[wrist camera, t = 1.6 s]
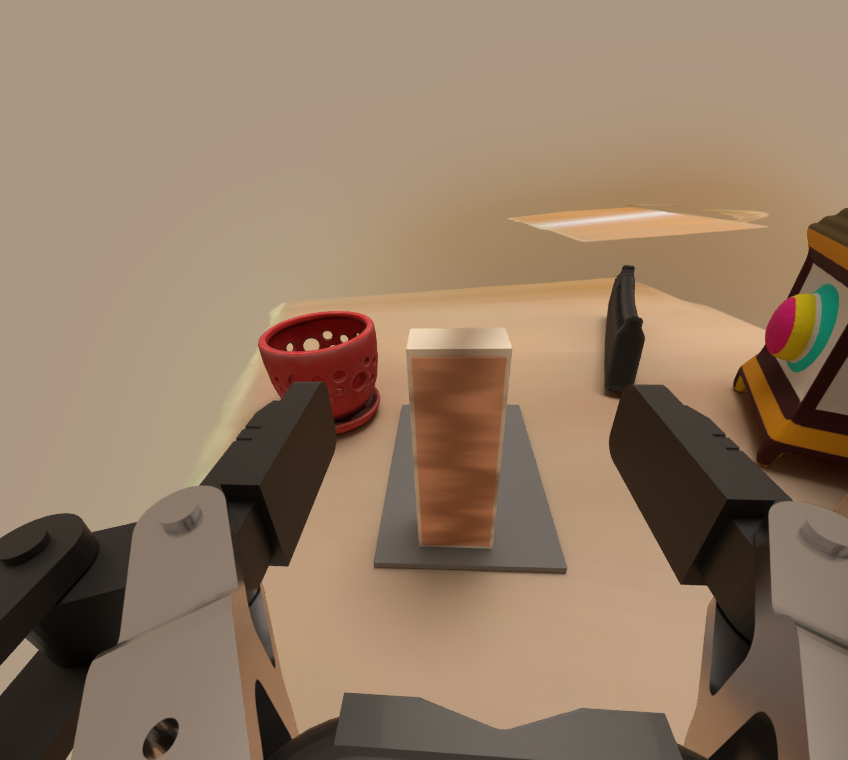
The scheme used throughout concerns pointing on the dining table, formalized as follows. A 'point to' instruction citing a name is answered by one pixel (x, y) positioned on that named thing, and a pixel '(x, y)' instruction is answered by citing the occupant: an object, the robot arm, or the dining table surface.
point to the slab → (457, 431)
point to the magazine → (623, 333)
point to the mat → (515, 516)
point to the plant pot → (327, 361)
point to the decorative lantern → (806, 356)
